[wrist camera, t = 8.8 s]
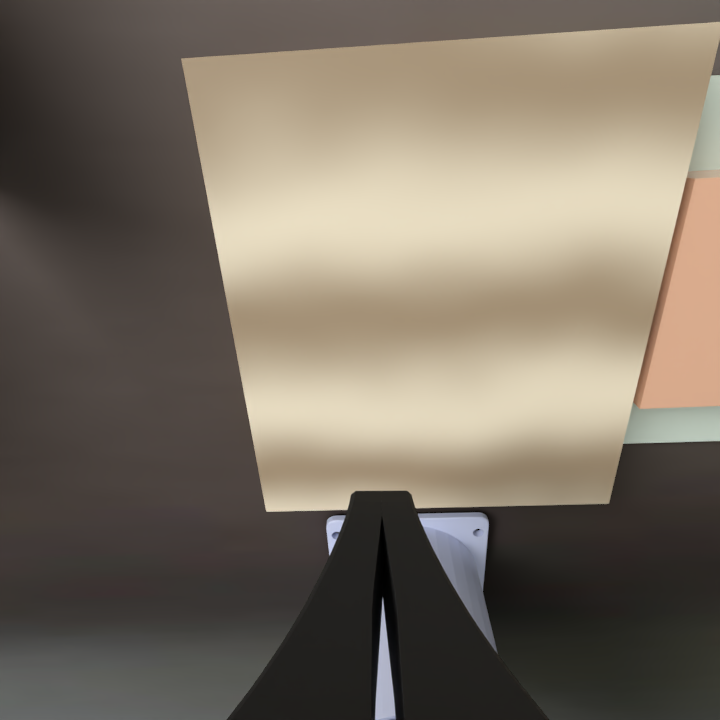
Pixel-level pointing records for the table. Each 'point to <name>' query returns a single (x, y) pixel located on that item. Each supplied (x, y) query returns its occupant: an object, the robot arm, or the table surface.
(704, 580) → the table surface
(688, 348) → the peach flat block
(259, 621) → the table surface
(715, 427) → the mat
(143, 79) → the table surface
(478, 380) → the riser
